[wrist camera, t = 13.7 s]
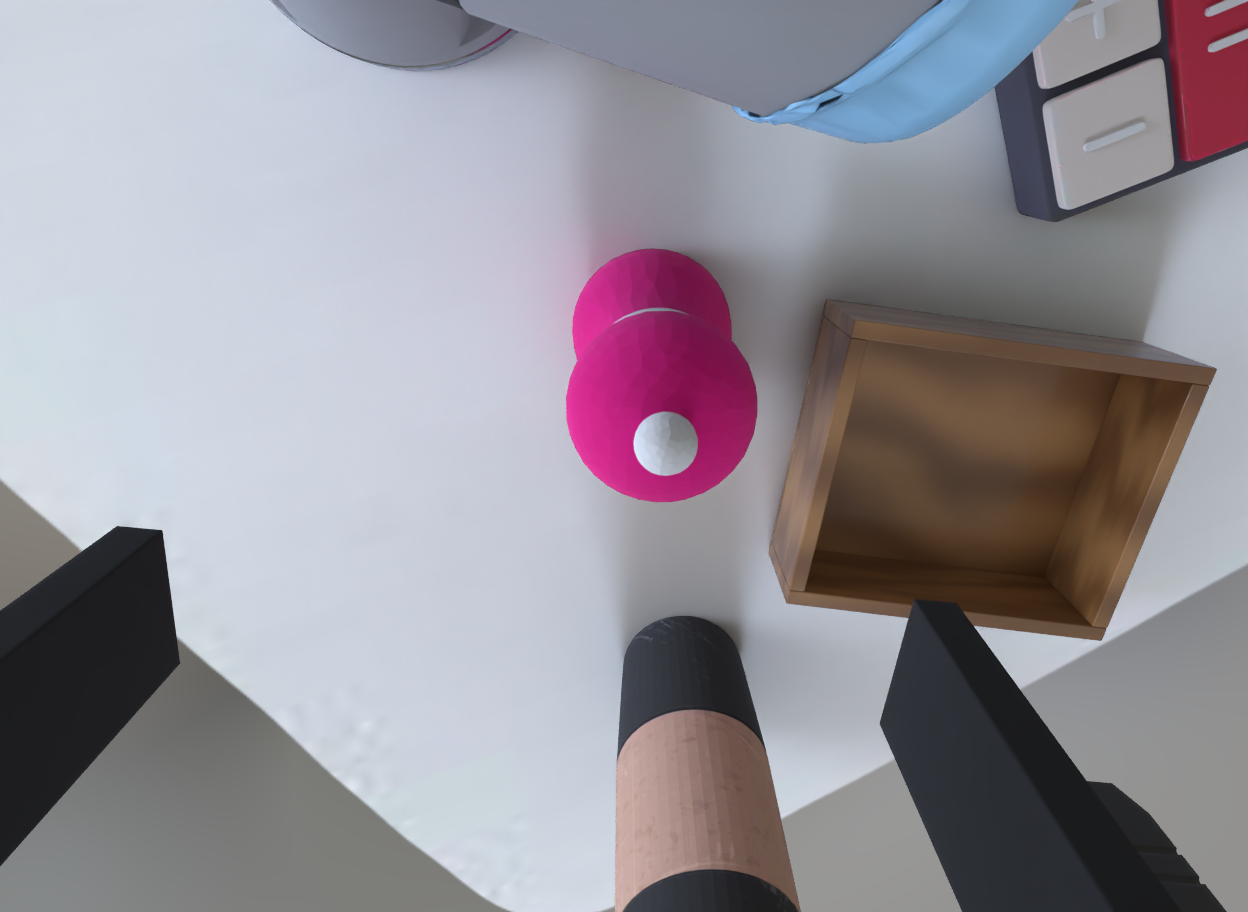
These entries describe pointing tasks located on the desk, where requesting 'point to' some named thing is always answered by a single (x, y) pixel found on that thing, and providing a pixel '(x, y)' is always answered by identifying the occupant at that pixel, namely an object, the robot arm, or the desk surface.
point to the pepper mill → (658, 379)
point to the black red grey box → (1124, 101)
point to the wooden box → (978, 468)
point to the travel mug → (694, 781)
